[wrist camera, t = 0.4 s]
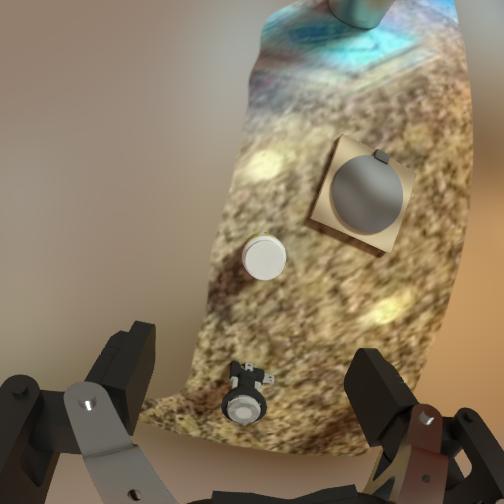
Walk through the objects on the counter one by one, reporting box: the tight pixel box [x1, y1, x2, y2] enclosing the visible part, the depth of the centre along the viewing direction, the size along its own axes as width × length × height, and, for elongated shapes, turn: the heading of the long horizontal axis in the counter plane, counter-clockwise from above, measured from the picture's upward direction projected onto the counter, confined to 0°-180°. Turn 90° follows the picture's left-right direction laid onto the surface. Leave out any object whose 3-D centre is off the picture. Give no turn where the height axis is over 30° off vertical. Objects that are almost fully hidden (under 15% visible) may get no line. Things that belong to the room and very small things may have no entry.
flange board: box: [309, 134, 417, 253], centre depth 34 cm, size 12×12×2 cm
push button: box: [221, 361, 275, 424], centre depth 34 cm, size 7×5×10 cm
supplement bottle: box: [242, 232, 286, 280], centre depth 32 cm, size 5×5×8 cm
